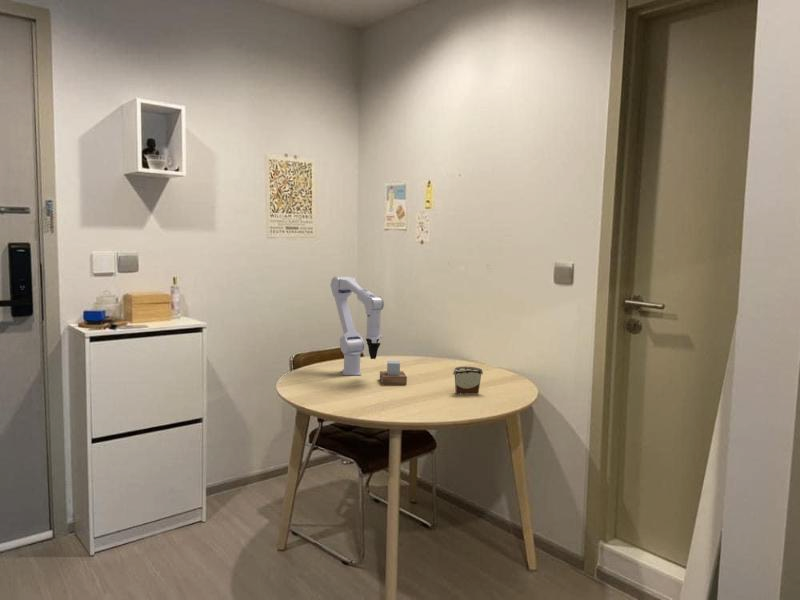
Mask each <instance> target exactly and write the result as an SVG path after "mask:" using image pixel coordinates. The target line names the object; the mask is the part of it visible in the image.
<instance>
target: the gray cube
mask: <svg viewBox="0 0 800 600" xmlns="http://www.w3.org/2000/svg"><path fill="white" fill-rule="evenodd" d="M386 366H387V367H386V371H387V374H388V375H400V371H401V363H400V360H387V365H386Z"/></svg>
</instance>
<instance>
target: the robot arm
mask: <svg viewBox="0 0 800 600" xmlns="http://www.w3.org/2000/svg"><path fill="white" fill-rule="evenodd" d="M329 286H330V290H331V293H332V297H334V300H335V305H336V308H337V312H338V317H339V320H340V324H341V328H342V332H343V334H342V335H341V336H340V338H339V342H340V343H339V344H340V346H339V348H340V350H341V352H342V354H343V356H344V357H343V368H342V375H343V376H361V375H362V372H361V354H363V352H364V350H365V347H366V345H367V347H368V353H369V357H370V360H376V359H377V355H378V351H379V348H380V346H381V342H379V340H380V339H381V338H383V337H384V335H381V316H382V315H381V311H382V310H383V309H384V306H385V303H384V300H383V298H382V296H376V295H375V294H374V293H372V292H371V291H369V289H368V288H365V287H364V288H362V287H361V286H360V285H359V284H358V282H357V281H356V278H355V277H353V276H352V275H350V276H333V277H332V278H331V281H330V285H329ZM352 293H353V294H355V295H356V298H357V300H358V301H359V302H360V303H362V304H363V305H364V308H365V309H364V310H365V314H366V335H365V340H366V345H365V341H364V340H363V337H362V334H361V333H359V332H358V331H356V329H355V328H356V327H355V324H354V321H353V317H352V313H351V309H350V305H349V302H348V298H349V297H350V296H351V295H352Z"/></svg>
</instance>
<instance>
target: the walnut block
mask: <svg viewBox="0 0 800 600" xmlns="http://www.w3.org/2000/svg"><path fill="white" fill-rule="evenodd" d="M407 380H408V376H407V375H406V373H405V372H404V371H403V370H400V375H388V374H387V370H381V371H379V381H380V382H381V385H382V384H383V385H382V386H407V385H408V383H407V382H408V381H407Z"/></svg>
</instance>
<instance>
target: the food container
mask: <svg viewBox="0 0 800 600" xmlns="http://www.w3.org/2000/svg"><path fill="white" fill-rule="evenodd" d="M483 372H484V371H483V369H482V368H480V367H476V366H474V367H473V366H457V367H455V368H454V369H453V372H452V375H454V384H455V387H454V389H455V395H463V394H462V393H478V394H479V392H480V386H481V379H482V375H483V374H484V373H483ZM460 393H461V394H460Z"/></svg>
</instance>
